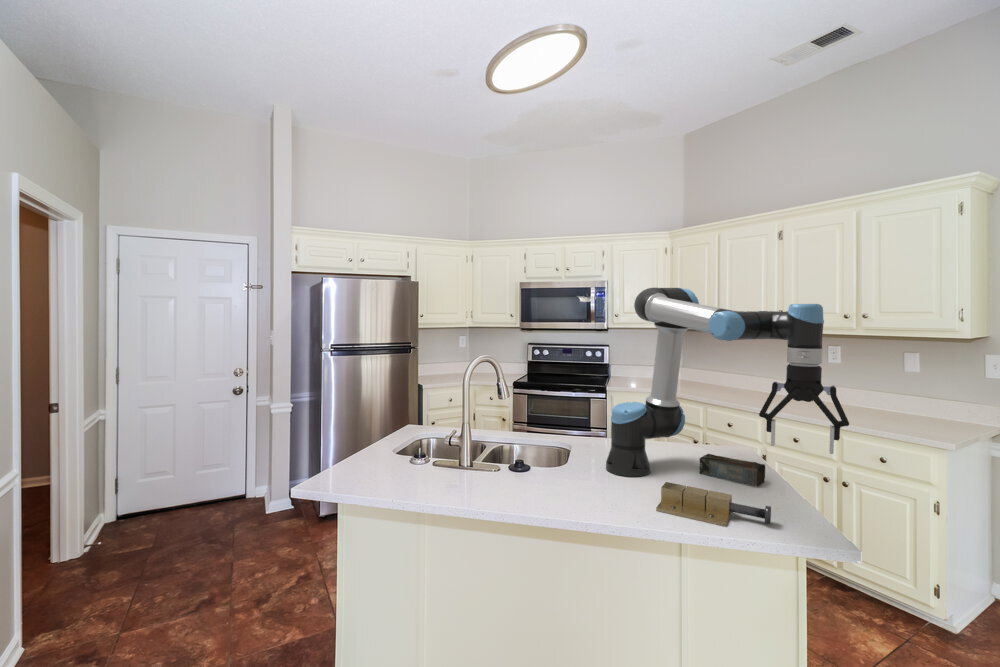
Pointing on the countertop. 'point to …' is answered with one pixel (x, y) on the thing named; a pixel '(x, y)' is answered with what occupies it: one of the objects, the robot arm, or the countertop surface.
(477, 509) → the countertop surface
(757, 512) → the hinge pin
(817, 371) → the robot arm
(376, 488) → the countertop surface
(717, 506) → the hinge
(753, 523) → the countertop surface
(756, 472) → the dark brown rectangular block
